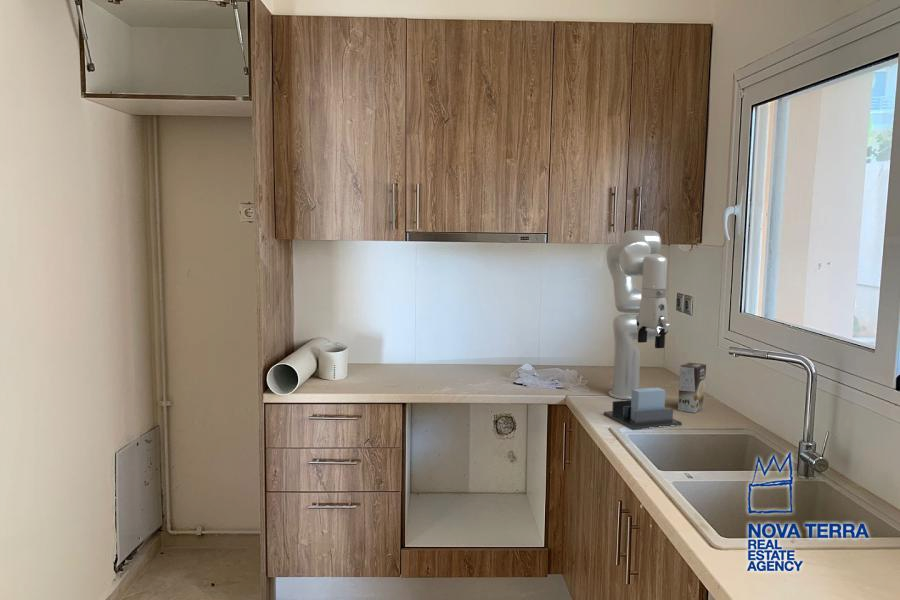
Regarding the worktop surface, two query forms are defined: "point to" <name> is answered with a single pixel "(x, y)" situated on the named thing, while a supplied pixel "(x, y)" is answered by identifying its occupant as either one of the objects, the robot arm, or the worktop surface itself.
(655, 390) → the blue-grey square block
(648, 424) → the dish rack
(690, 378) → the coffee box
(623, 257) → the robot arm
